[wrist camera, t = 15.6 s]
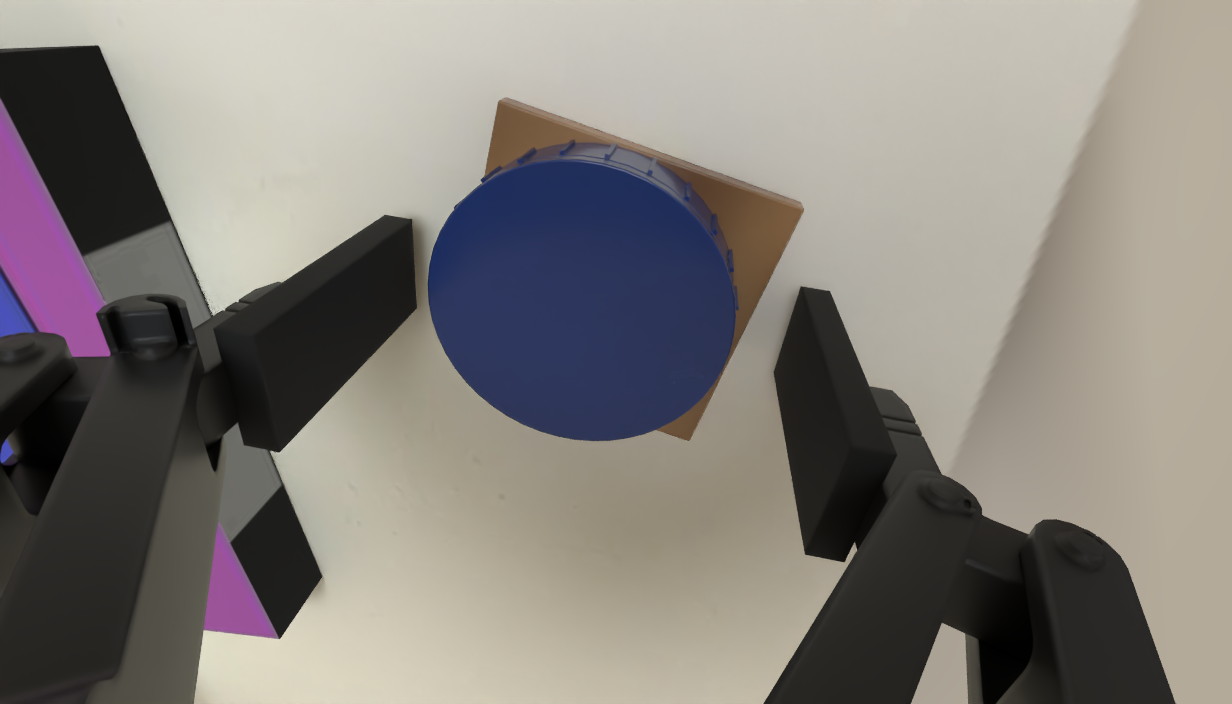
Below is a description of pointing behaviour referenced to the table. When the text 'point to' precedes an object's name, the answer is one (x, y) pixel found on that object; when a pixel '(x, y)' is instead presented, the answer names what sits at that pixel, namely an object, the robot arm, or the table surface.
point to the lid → (585, 292)
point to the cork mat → (743, 210)
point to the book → (125, 295)
